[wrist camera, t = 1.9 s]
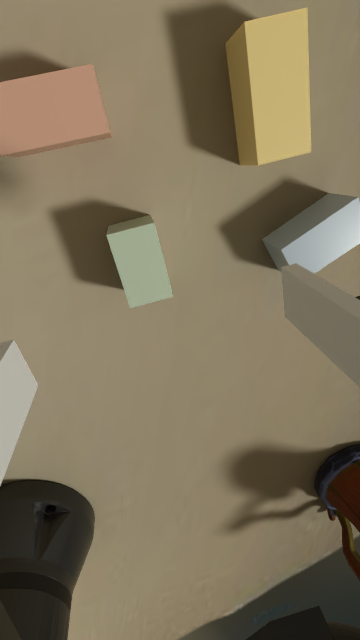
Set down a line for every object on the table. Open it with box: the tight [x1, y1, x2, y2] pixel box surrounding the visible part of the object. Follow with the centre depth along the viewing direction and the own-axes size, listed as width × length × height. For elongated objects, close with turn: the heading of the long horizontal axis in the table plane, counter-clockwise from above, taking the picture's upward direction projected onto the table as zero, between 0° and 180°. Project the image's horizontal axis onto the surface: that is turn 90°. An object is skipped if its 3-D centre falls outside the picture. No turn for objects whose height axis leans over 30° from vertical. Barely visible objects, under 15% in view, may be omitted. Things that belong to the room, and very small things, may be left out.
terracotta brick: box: [0, 64, 111, 157], centre depth 22 cm, size 7×4×4 cm, turn 101°
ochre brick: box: [225, 8, 311, 165], centre depth 23 cm, size 8×4×4 cm, turn 12°
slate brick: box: [262, 193, 360, 273], centre depth 29 cm, size 7×4×4 cm, turn 124°
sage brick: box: [106, 215, 173, 308], centre depth 27 cm, size 6×4×4 cm, turn 13°
